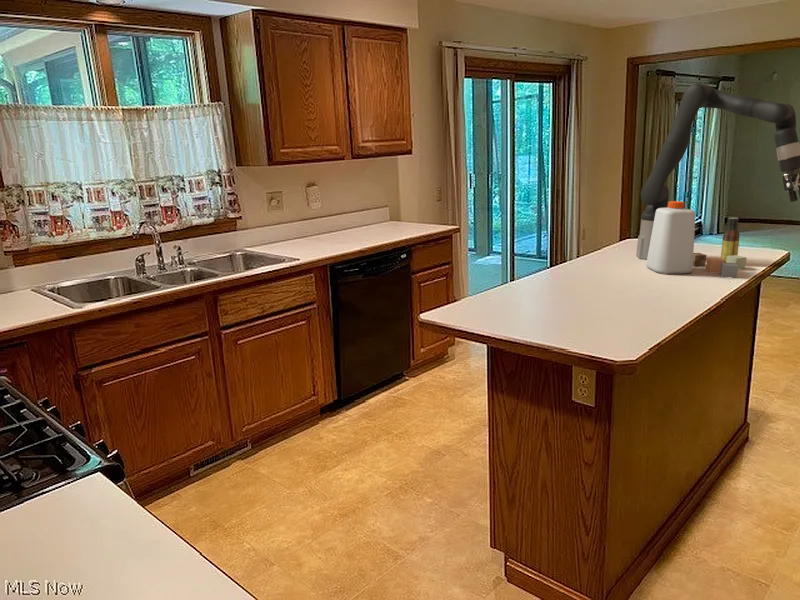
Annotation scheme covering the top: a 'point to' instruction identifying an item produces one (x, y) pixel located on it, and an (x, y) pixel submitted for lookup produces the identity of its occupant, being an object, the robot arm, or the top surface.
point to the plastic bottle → (672, 240)
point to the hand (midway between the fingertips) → (798, 200)
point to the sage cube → (737, 261)
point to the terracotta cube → (714, 264)
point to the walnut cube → (699, 259)
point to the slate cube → (729, 270)
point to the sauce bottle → (730, 239)
